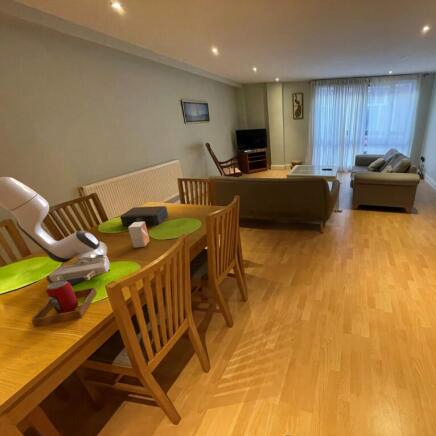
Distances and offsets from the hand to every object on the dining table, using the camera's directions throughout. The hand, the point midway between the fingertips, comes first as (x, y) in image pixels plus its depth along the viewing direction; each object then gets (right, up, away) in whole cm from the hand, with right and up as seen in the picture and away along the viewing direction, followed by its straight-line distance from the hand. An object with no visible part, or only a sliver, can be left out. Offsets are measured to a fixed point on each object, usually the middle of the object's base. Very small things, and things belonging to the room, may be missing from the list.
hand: (72, 281), depth 100 cm
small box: (+1, +10, +44) cm, 46 cm away
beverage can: (+3, -10, -5) cm, 11 cm away
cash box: (-17, +24, +78) cm, 84 cm away
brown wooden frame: (+3, -10, -5) cm, 11 cm away
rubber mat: (-12, -1, +17) cm, 21 cm away
